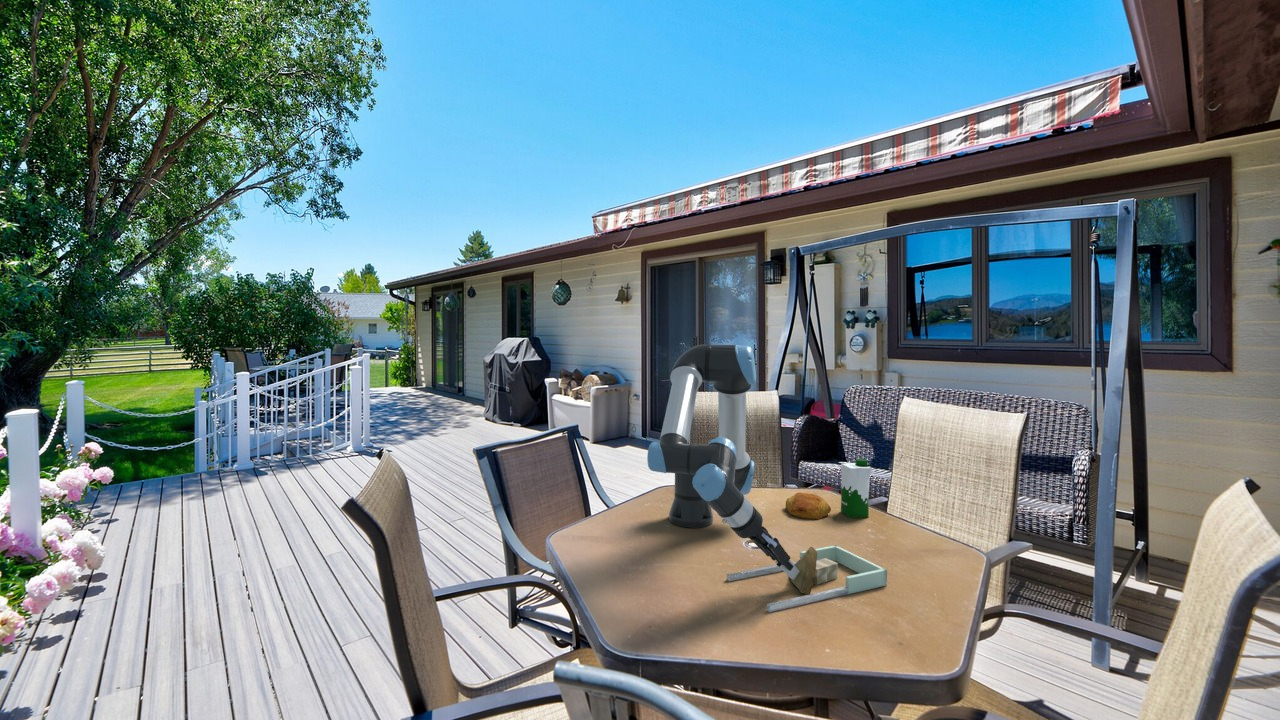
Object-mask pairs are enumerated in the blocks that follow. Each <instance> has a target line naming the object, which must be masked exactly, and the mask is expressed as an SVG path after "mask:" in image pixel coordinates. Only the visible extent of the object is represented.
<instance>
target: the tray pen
mask: <svg viewBox="0 0 1280 720" xmlns="http://www.w3.org/2000/svg"><path fill="white" fill-rule="evenodd" d="M814 549H815V550H816V551H817V560H820V559H824V558H826V559H829V560H831V561H834V562H836V563H838V564H841V565H842V566H845V567H847V568H848V569H850V570H852V571H854V572H856V573H857V574H852V575H848V576H846V577H845V586H846V587H847V588H849V592H848V594H847V595H850V594H855V593H858V592H860V593H861V592H863V591H867V590H871V589H873V590H874V589H876V588H880V587H885V586H887V585H888V584H887V583H888V581H887V580H888V569H885V568H884V567H882V566H880V565H878V564H875V563H873V562H872V561H870V560H867V559H865V558H863V557H861V556H858V555H857V554H855V553H853V552H850V551H849V550H847V549H845V548H842V547H840V546H838V545H830V546H825V547H819V548H814ZM806 551H807V550H803V551H799V559H800V558H801V557H802V556H803V554H804V553H805V552H806Z"/></svg>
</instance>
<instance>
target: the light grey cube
mask: <svg viewBox="0 0 1280 720" xmlns="http://www.w3.org/2000/svg"><path fill="white" fill-rule="evenodd" d="M827 571H828V566H826V565H824V564H821V563H819V562H817V561H816V571H815V577H814V582H813V585H814V584H815V585H820V584H823V583H826V582H828V581H827Z"/></svg>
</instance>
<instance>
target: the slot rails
mask: <svg viewBox="0 0 1280 720" xmlns="http://www.w3.org/2000/svg"><path fill="white" fill-rule="evenodd" d="M797 561H798V560H797ZM797 561H791V562H792V563H793V564H794V565H795V564H796V563H797ZM780 572H784V571H783V570H782V569H781V568H780V567H778V566H777V565H770V566H765V567H759V568H753V569H749V570H743V571H737V572H733V573H728V574H726V581H727V582H733V581H739V580H745V579H749V578H754V577H759V576H764V575H770V574H775V573H780ZM848 592H849V588H847V587H846V585H844V586H842V587H837V588H832V589H828V590H823V591H820V592H814V593H810V594H805V595H801V596H796V597H792V598H787V599H784V600H779V601H774V602H771V603H767V604H766V611H767V612H769V613H773V612H777V611H781V610H786V609H789V608H795V607H798V606H803V605H808V604H812V603H815V602H819V601H825V600H829V599H834V598H838V597H841V596H847V595H849V594H848Z"/></svg>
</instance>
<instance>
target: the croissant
mask: <svg viewBox="0 0 1280 720" xmlns="http://www.w3.org/2000/svg"><path fill="white" fill-rule="evenodd" d="M785 509H786V511H787V512H789V516H790V515H791V516H794V517H797V518H801V519H806V520H807V519H808V520H810V519H812V520H813V519H814V520H815V519H816V520H821V519H822V518H825V517H827V516H828V515H829V514H830V513H831V511H832V510H831V506H830V505H829V503H828V502H827V501H826V500H825V499H824V498H823V497H821V496H819V495H817V494H814V493H805V492H796V493H795V494H794V495H792V496H790V497H788V498H787V499H786V501H785Z"/></svg>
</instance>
